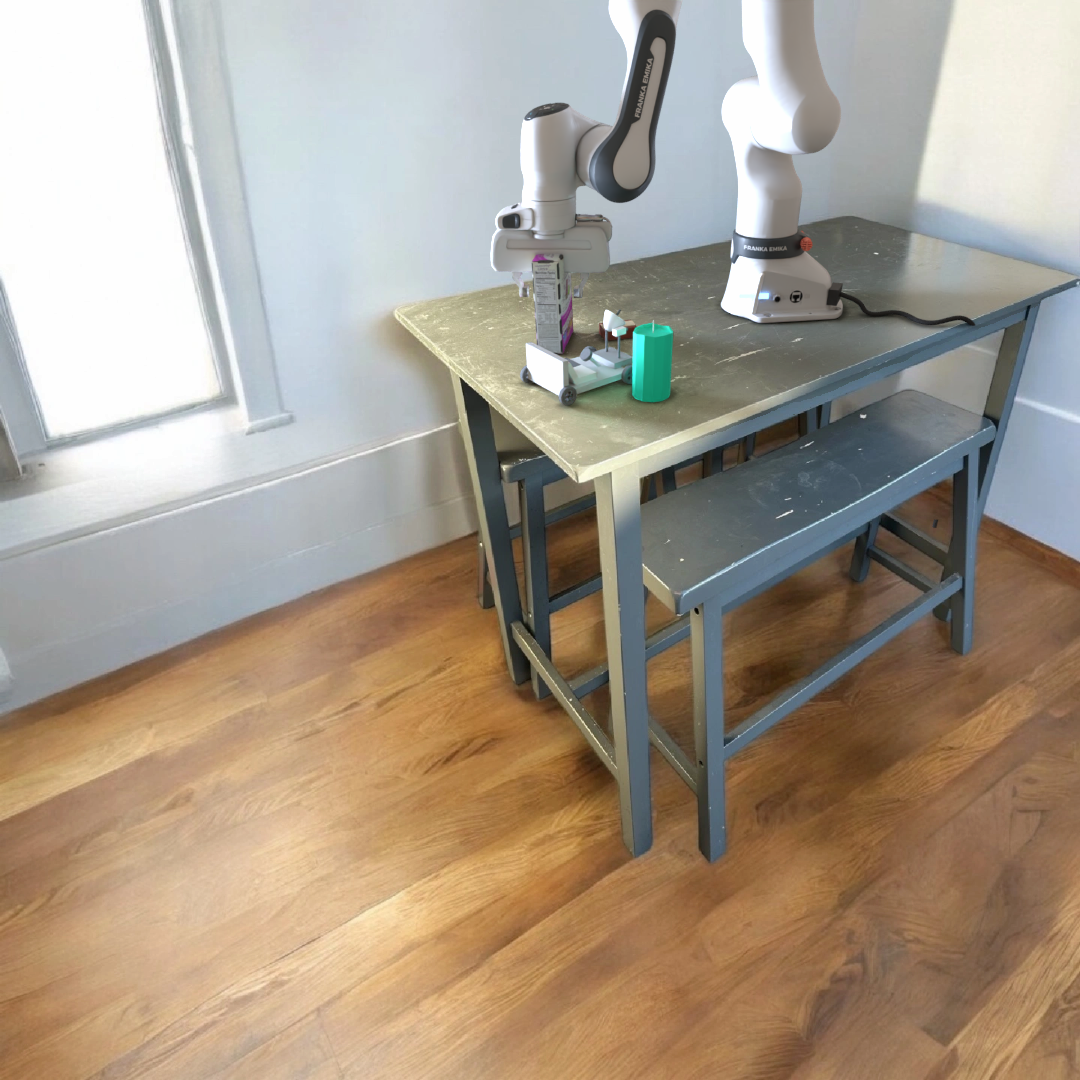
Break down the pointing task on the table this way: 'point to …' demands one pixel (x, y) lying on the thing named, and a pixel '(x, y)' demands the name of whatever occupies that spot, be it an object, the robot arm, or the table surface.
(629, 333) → the matchbox
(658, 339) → the candle
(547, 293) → the candy bar box
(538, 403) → the table surface
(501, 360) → the table surface
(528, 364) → the toy car
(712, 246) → the table surface
